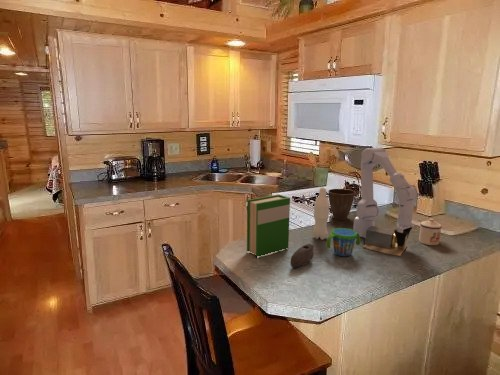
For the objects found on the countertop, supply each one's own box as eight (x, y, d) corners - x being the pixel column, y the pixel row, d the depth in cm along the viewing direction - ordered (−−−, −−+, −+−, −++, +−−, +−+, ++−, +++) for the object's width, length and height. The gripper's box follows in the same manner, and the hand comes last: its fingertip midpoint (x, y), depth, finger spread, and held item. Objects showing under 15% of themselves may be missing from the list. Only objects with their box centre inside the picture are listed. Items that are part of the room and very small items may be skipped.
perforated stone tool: (296, 272, 133) (296, 255, 132) (285, 268, 137) (285, 251, 135) (316, 260, 144) (317, 244, 143) (306, 256, 148) (306, 241, 146)
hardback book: (257, 258, 145) (257, 203, 140) (246, 253, 151) (247, 199, 145) (288, 249, 155) (290, 197, 150) (277, 244, 161) (278, 194, 156)
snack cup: (353, 247, 157) (354, 226, 155) (365, 257, 147) (367, 234, 145) (321, 250, 154) (322, 228, 152) (331, 260, 144) (332, 237, 142)
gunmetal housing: (365, 244, 160) (366, 229, 159) (369, 239, 166) (371, 225, 164) (390, 249, 154) (391, 234, 153) (393, 244, 160) (395, 230, 158)
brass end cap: (368, 244, 160) (370, 228, 158) (372, 240, 165) (374, 224, 163) (403, 251, 151) (405, 235, 150) (406, 247, 156) (408, 231, 155)
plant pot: (321, 216, 204) (323, 189, 201) (341, 213, 211) (342, 187, 208) (338, 223, 191) (340, 195, 188) (358, 219, 198) (360, 192, 195)
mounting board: (362, 247, 158) (362, 246, 157) (371, 238, 169) (371, 237, 169) (400, 256, 149) (400, 254, 149) (406, 246, 160) (407, 245, 160)
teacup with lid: (432, 247, 159) (435, 223, 156) (414, 241, 166) (416, 217, 164) (446, 242, 165) (450, 219, 163) (428, 236, 173) (431, 214, 170)
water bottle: (311, 239, 167) (313, 189, 162) (314, 234, 174) (316, 186, 168) (326, 241, 165) (329, 190, 159) (328, 236, 171) (331, 187, 166)
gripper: (411, 220, 143) (408, 250, 146) (418, 211, 155) (414, 240, 158) (393, 216, 147) (390, 246, 150) (401, 209, 159) (398, 237, 162)
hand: (402, 243), depth 154 cm, fingers open, 7 cm apart
